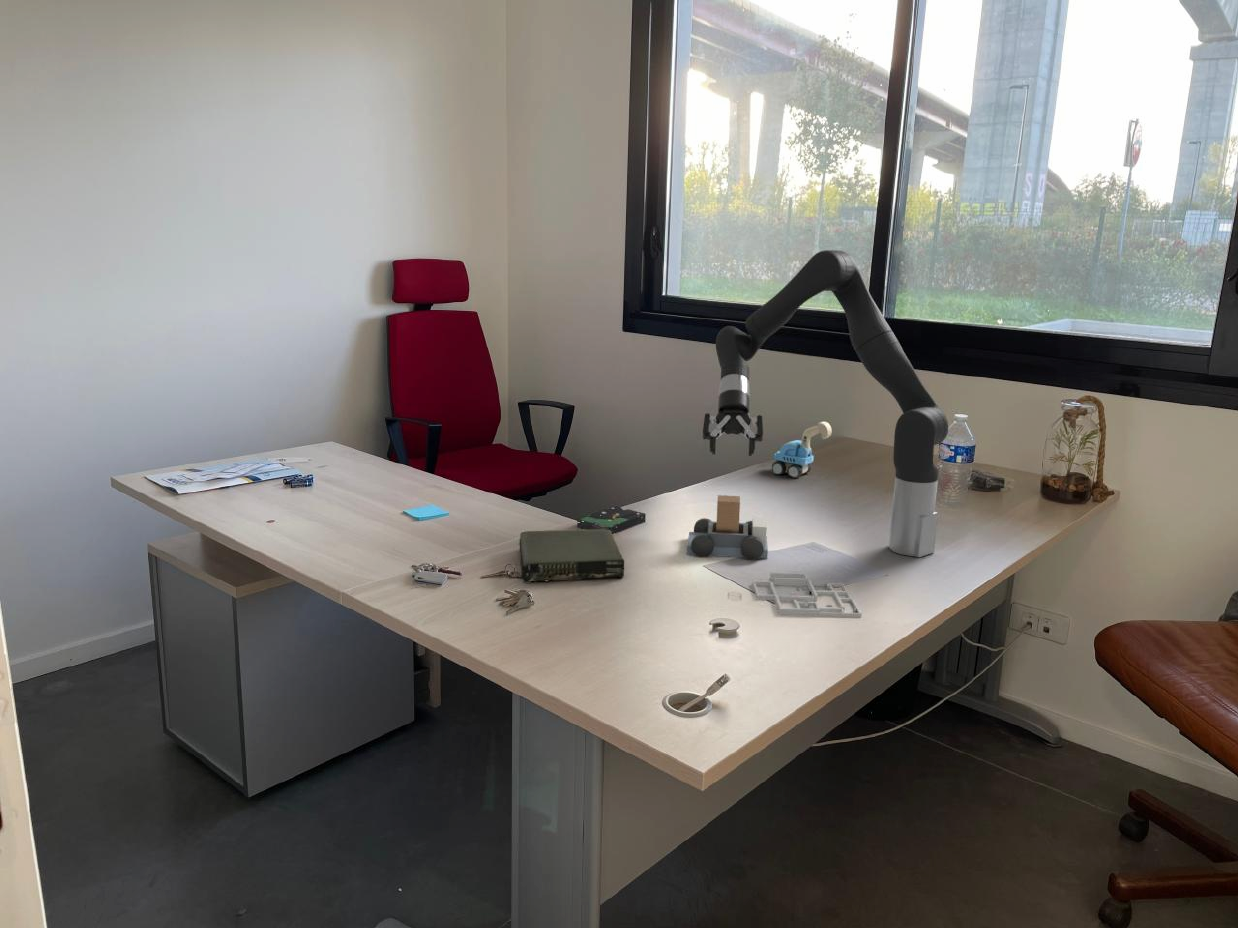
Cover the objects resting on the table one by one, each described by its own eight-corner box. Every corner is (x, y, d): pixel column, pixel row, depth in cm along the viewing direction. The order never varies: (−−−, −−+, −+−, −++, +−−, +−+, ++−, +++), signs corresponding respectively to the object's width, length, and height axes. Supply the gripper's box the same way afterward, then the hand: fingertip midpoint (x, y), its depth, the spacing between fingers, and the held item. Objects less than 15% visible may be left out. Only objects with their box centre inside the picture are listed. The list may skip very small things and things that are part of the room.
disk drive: (613, 515, 237) (576, 529, 226) (613, 505, 237) (576, 518, 225) (646, 523, 231) (609, 537, 220) (646, 513, 231) (609, 526, 219)
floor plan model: (721, 580, 194) (721, 571, 194) (840, 582, 194) (841, 574, 193) (729, 616, 176) (730, 607, 176) (861, 619, 176) (862, 609, 175)
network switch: (525, 590, 187) (525, 567, 186) (507, 552, 209) (507, 531, 208) (635, 580, 193) (636, 557, 192) (607, 544, 215) (607, 523, 214)
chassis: (766, 541, 217) (767, 513, 215) (767, 561, 204) (769, 531, 203) (689, 537, 219) (690, 509, 218) (686, 556, 207) (687, 526, 205)
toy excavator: (819, 483, 268) (823, 425, 264) (768, 474, 278) (771, 418, 274) (831, 477, 275) (836, 421, 271) (781, 468, 285) (784, 413, 281)
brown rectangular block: (737, 537, 214) (739, 496, 211) (737, 544, 209) (739, 502, 206) (716, 536, 214) (717, 495, 212) (715, 543, 209) (717, 501, 207)
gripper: (704, 387, 224) (701, 444, 215) (764, 389, 222) (763, 446, 214) (704, 405, 230) (701, 460, 222) (762, 407, 228) (761, 463, 220)
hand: (732, 453), depth 218 cm, fingers open, 8 cm apart
